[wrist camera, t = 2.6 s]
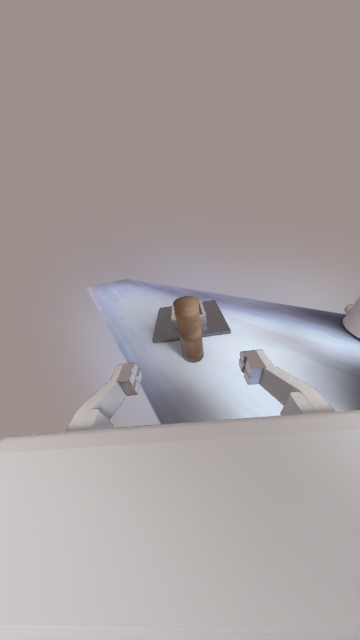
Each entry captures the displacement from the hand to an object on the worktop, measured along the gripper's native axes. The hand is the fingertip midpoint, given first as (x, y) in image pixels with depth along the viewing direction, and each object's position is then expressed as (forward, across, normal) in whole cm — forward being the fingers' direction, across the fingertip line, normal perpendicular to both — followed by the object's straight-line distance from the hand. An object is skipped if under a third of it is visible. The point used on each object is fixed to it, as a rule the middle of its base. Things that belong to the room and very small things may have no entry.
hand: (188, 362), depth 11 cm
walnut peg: (+12, 0, +13) cm, 18 cm away
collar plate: (+25, 0, +12) cm, 28 cm away
